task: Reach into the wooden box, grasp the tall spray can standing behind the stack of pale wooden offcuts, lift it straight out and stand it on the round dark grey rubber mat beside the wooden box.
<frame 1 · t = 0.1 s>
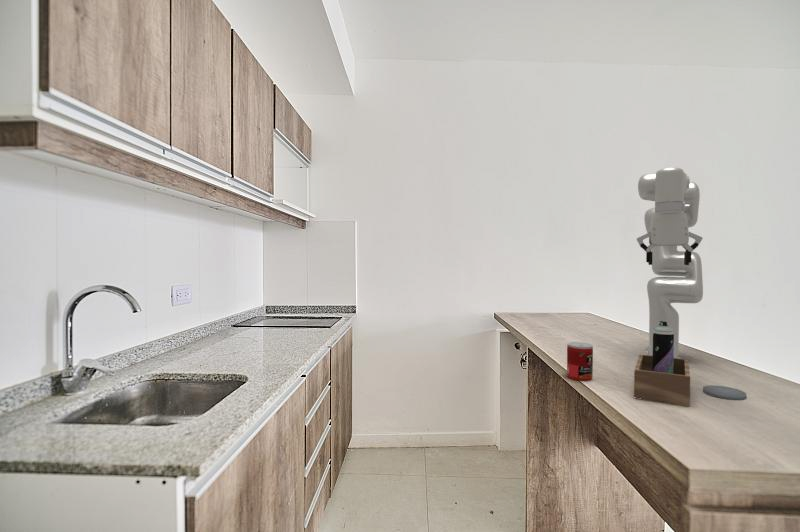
hand: (668, 264, 134), 37 cm above the table, tool pointing down, fingers open, 9 cm apart
canned food: (579, 378, 143), on the table
wooden box: (662, 391, 128), on the table
mat: (724, 394, 125), on the table
spray can: (662, 387, 133), on the table
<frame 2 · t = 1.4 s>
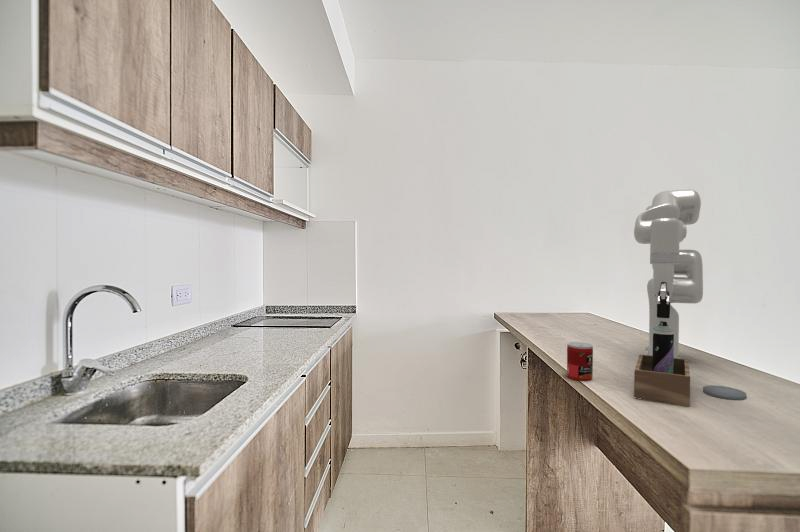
hand: (663, 316, 132), 22 cm above the table, tool pointing down, fingers open, 9 cm apart
offcut lower: (661, 396, 125), on the table, touching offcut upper
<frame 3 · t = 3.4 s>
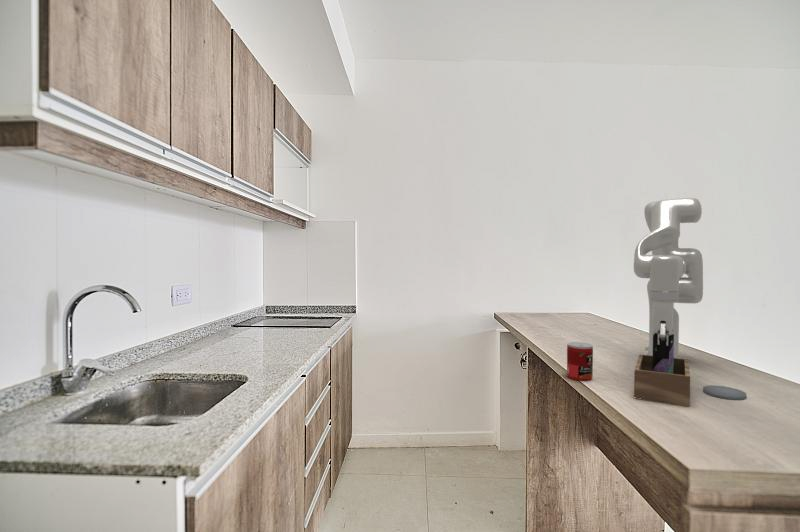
hand: (663, 355, 132), 9 cm above the table, tool pointing down, fingers closed on spray can, 5 cm apart
spray can: (662, 387, 133), on the table, touching gripper
everything else where it was.
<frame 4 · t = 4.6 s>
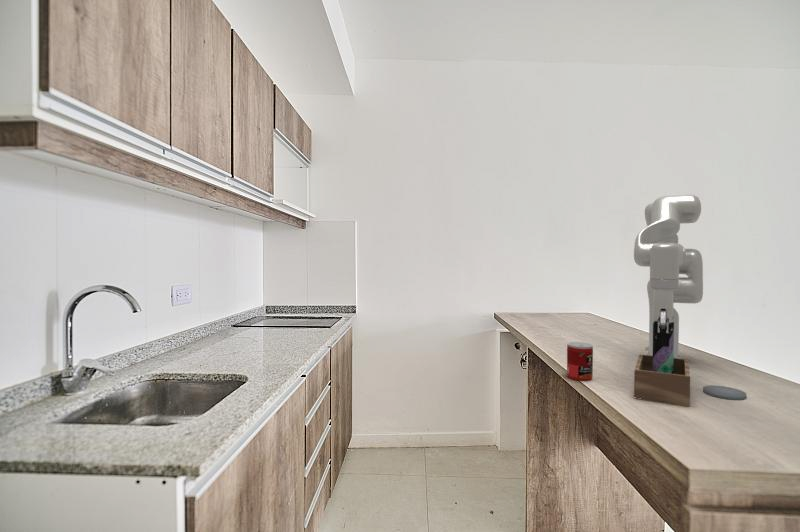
hand: (663, 343, 133), 13 cm above the table, tool pointing down, fingers closed on spray can, 5 cm apart
spray can: (662, 374, 133), point 3 cm above the table, touching gripper
everything else where it was.
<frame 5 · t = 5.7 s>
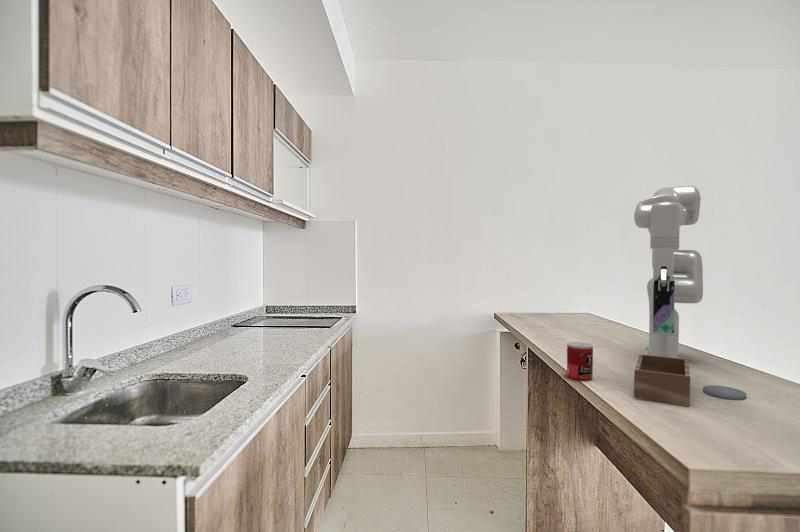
hand: (663, 302, 132), 26 cm above the table, tool pointing down, fingers closed on spray can, 5 cm apart
spray can: (663, 334, 133), point 16 cm above the table, touching gripper
offcut lower: (661, 396, 125), on the table
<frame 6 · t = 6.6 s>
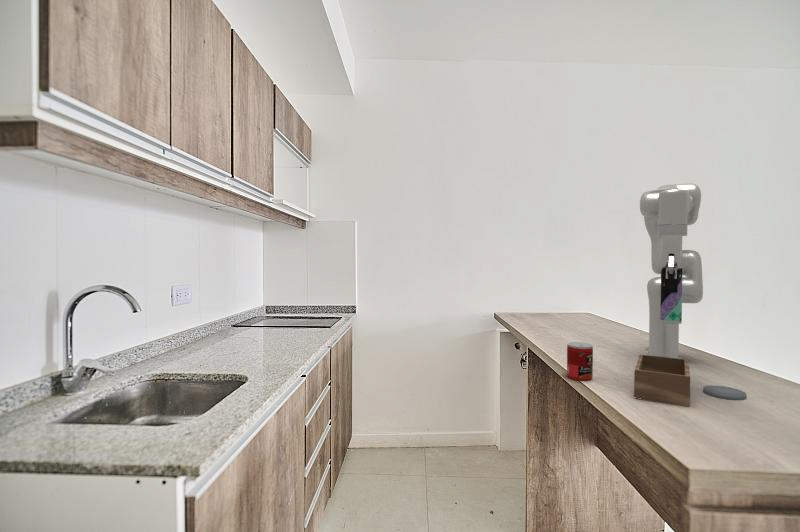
hand: (671, 291, 131), 29 cm above the table, tool pointing down, fingers closed on spray can, 5 cm apart
spray can: (670, 323, 131), point 20 cm above the table, touching gripper
offcut lower: (661, 396, 125), on the table, touching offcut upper
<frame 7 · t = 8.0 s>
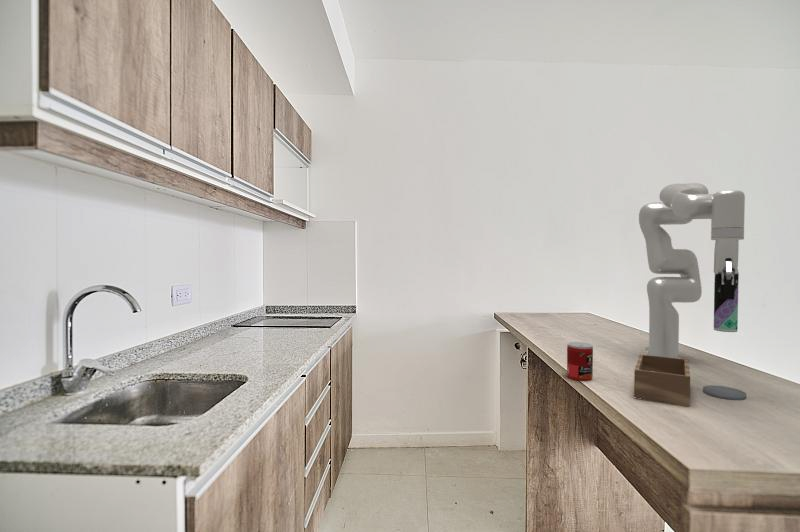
hand: (726, 297, 125), 28 cm above the table, tool pointing down, fingers closed on spray can, 5 cm apart
spray can: (725, 331, 125), point 18 cm above the table, touching gripper
everything else where it was.
when the fingers open (11 cm above the table, at t = 11.7 s): spray can stays where it is, resting on mat.
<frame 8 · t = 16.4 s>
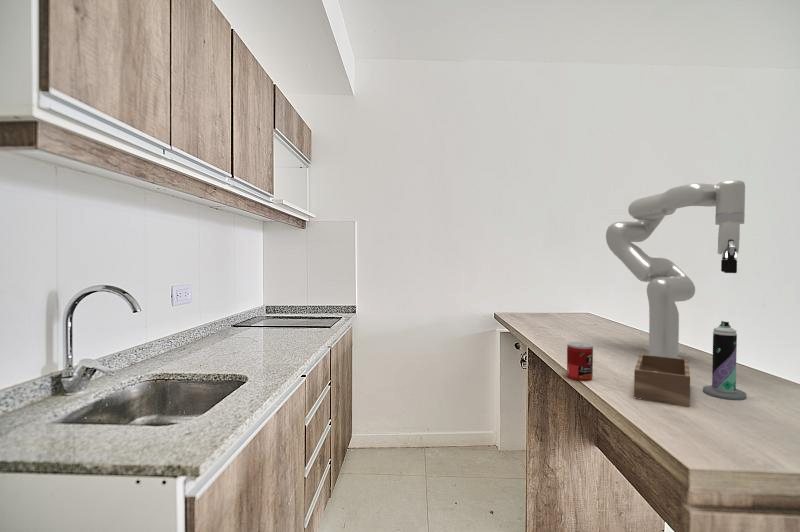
hand: (728, 272, 141), 34 cm above the table, tool pointing down, fingers open, 9 cm apart
spray can: (723, 391, 126), point 1 cm above the table, touching mat
everything else where it was.
at the end: spray can 0.2 cm off-centre on the mat, point 0.8 cm above the mat's base; spray can tilted 0°; the gripper is holding nothing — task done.
